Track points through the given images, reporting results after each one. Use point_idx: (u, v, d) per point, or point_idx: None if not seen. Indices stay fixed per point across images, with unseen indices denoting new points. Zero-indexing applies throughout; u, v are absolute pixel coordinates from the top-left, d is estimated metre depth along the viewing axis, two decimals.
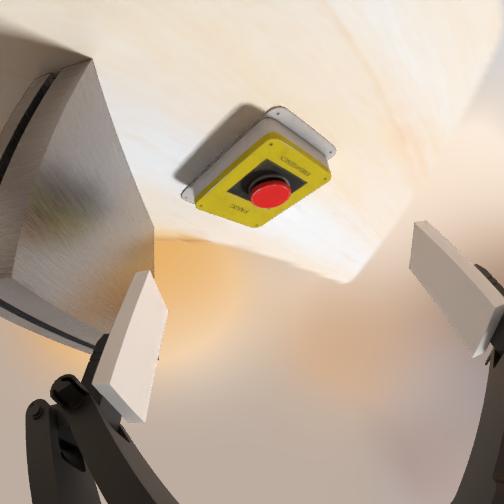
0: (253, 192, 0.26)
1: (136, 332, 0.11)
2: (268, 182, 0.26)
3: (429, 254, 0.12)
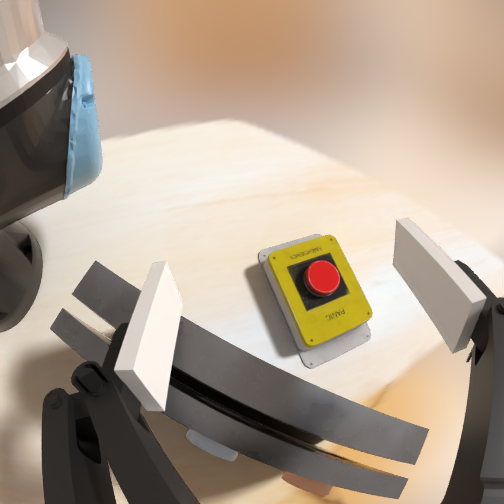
0: (310, 285, 0.31)
1: (156, 320, 0.11)
2: (306, 271, 0.31)
3: (410, 251, 0.12)
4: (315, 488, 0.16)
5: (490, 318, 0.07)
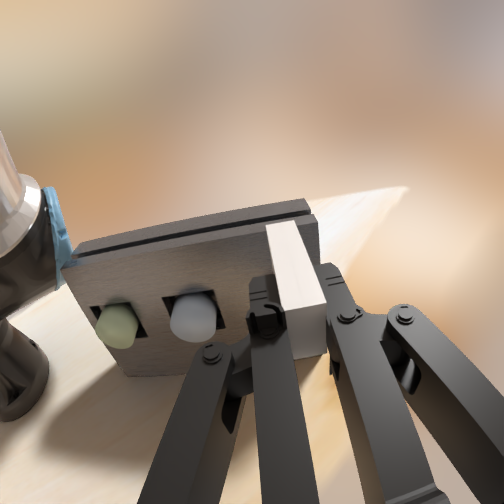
0: None
1: None
2: None
3: None
4: None
5: (333, 333, 0.09)
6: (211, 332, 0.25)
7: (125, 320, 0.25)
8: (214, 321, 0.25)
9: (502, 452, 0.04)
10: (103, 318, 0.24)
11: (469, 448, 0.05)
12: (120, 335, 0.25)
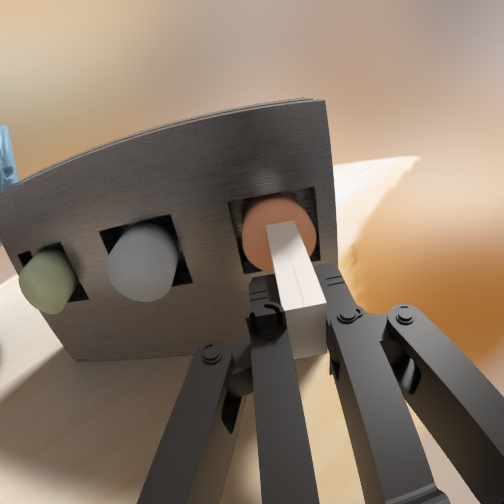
0: None
1: None
2: None
3: None
4: (273, 205, 0.15)
5: (333, 332, 0.09)
6: (167, 284, 0.16)
7: (53, 269, 0.16)
8: (170, 264, 0.16)
9: (502, 452, 0.04)
10: (26, 265, 0.15)
11: (469, 448, 0.05)
12: (48, 292, 0.16)
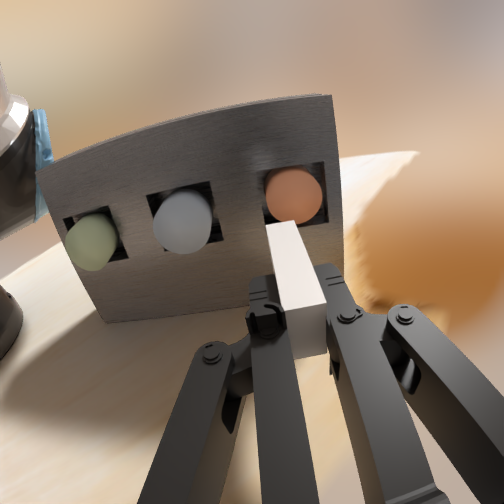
0: None
1: None
2: None
3: None
4: (290, 170, 0.20)
5: (333, 333, 0.09)
6: (204, 237, 0.20)
7: (100, 228, 0.20)
8: (208, 220, 0.20)
9: (502, 452, 0.04)
10: (74, 226, 0.20)
11: (469, 448, 0.05)
12: (93, 249, 0.20)
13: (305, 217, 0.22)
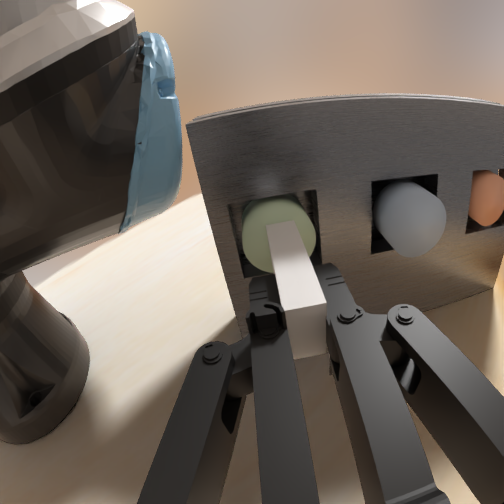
0: None
1: None
2: None
3: None
4: (491, 173, 0.15)
5: (333, 332, 0.09)
6: (437, 238, 0.15)
7: (305, 213, 0.16)
8: None
9: (502, 452, 0.04)
10: (268, 207, 0.15)
11: (469, 448, 0.05)
12: None
13: (493, 219, 0.17)
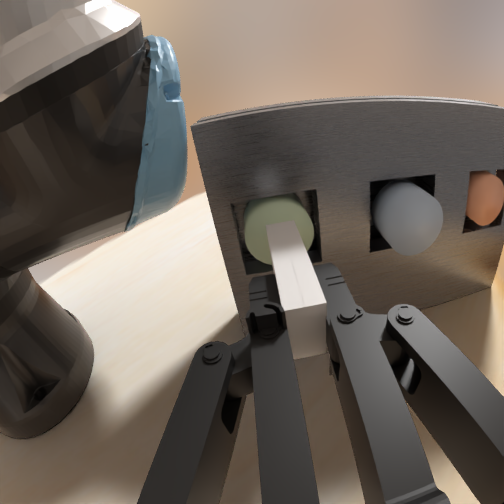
0: None
1: None
2: None
3: None
4: (488, 174, 0.16)
5: (333, 332, 0.09)
6: (433, 237, 0.16)
7: (304, 209, 0.17)
8: None
9: (502, 452, 0.04)
10: (269, 203, 0.16)
11: (469, 448, 0.05)
12: None
13: (490, 219, 0.17)
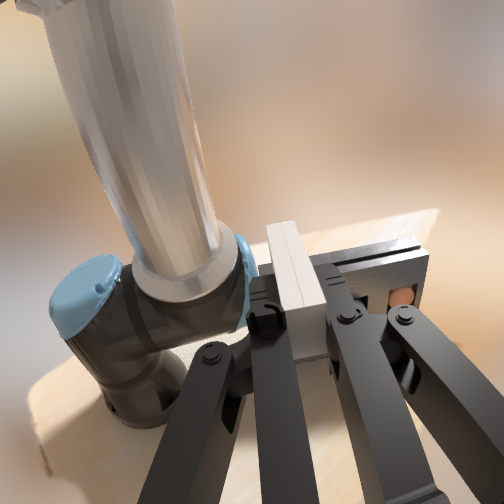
0: None
1: None
2: None
3: None
4: (403, 287, 0.38)
5: (333, 332, 0.09)
6: None
7: None
8: None
9: (502, 452, 0.04)
10: None
11: (469, 448, 0.05)
12: None
13: None
